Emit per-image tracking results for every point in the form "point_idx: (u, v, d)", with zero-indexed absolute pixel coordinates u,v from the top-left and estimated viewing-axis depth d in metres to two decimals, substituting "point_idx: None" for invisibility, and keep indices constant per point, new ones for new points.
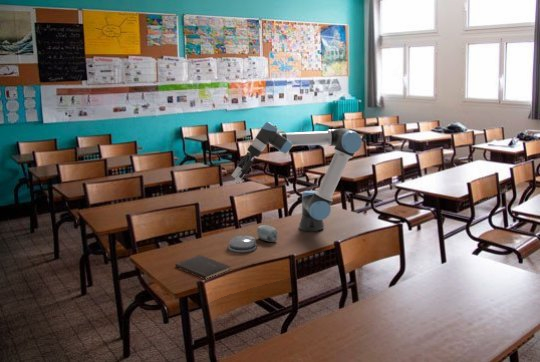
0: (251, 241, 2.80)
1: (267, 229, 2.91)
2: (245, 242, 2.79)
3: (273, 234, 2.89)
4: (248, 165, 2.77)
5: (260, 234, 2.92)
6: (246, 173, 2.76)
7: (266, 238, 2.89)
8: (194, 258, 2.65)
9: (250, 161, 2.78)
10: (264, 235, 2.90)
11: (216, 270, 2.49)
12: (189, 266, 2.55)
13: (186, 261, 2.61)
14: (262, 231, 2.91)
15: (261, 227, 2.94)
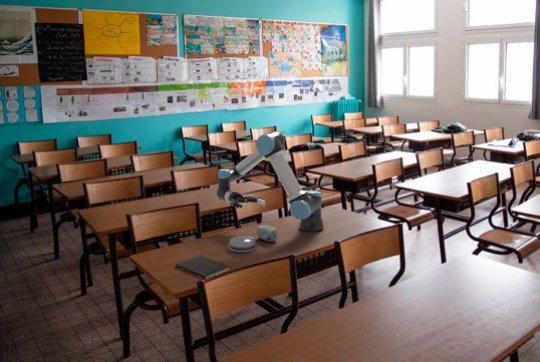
0: (251, 241, 2.80)
1: (267, 229, 2.91)
2: (245, 242, 2.79)
3: (273, 234, 2.89)
4: (231, 203, 3.02)
5: (260, 234, 2.92)
6: (233, 203, 2.98)
7: (266, 238, 2.89)
8: (194, 258, 2.65)
9: (231, 202, 3.05)
10: (264, 235, 2.90)
11: (216, 270, 2.49)
12: (189, 266, 2.55)
13: (186, 261, 2.61)
14: (262, 231, 2.91)
15: (261, 227, 2.94)
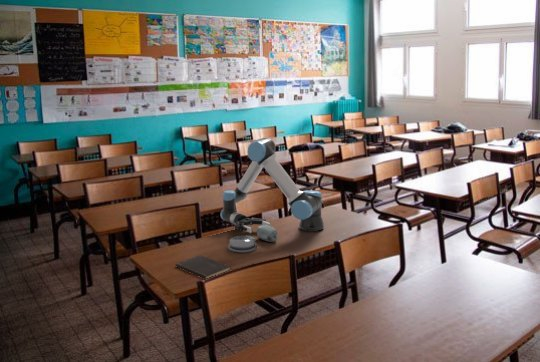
0: (251, 241, 2.80)
1: (267, 229, 2.91)
2: (245, 242, 2.79)
3: (273, 234, 2.89)
4: (236, 226, 3.01)
5: (260, 234, 2.92)
6: (238, 226, 2.97)
7: (266, 238, 2.89)
8: (195, 258, 2.65)
9: (236, 225, 3.04)
10: (264, 235, 2.90)
11: (216, 270, 2.49)
12: (189, 266, 2.55)
13: (186, 261, 2.61)
14: (262, 231, 2.91)
15: (261, 227, 2.94)
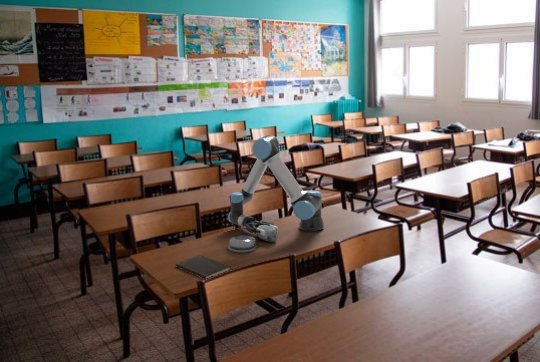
0: (251, 241, 2.80)
1: (267, 229, 2.90)
2: (245, 242, 2.79)
3: (273, 234, 2.89)
4: (248, 228, 2.95)
5: (260, 234, 2.92)
6: (252, 229, 2.92)
7: (266, 238, 2.89)
8: (195, 258, 2.65)
9: (246, 228, 2.98)
10: None
11: (216, 270, 2.49)
12: (189, 265, 2.55)
13: (186, 261, 2.61)
14: None
15: (261, 227, 2.94)
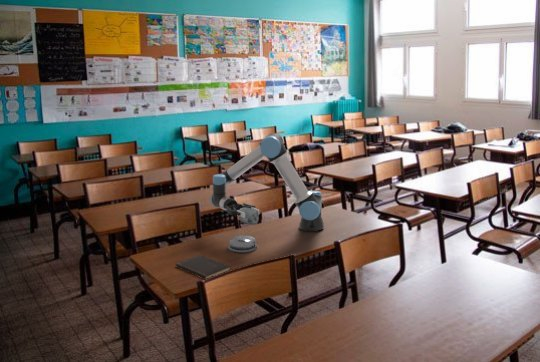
0: (251, 241, 2.80)
1: (248, 211, 2.81)
2: (245, 242, 2.79)
3: (254, 217, 2.79)
4: (228, 211, 2.86)
5: None
6: (232, 211, 2.82)
7: (246, 220, 2.79)
8: (195, 258, 2.65)
9: (227, 210, 2.88)
10: None
11: (216, 270, 2.49)
12: (190, 265, 2.55)
13: (186, 261, 2.61)
14: None
15: (242, 209, 2.84)
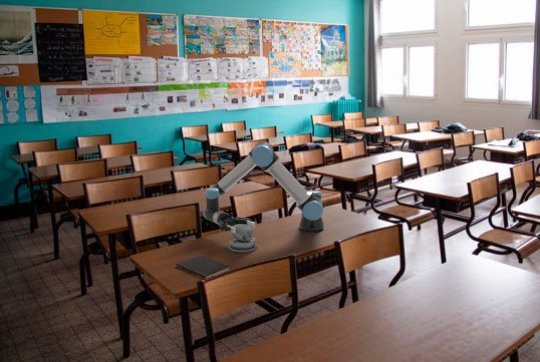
0: (251, 241, 2.80)
1: (242, 228, 2.78)
2: (245, 242, 2.79)
3: (249, 234, 2.76)
4: (220, 225, 2.82)
5: (235, 233, 2.79)
6: (222, 226, 2.78)
7: (241, 238, 2.77)
8: (195, 258, 2.65)
9: (219, 224, 2.85)
10: (239, 235, 2.77)
11: (216, 270, 2.49)
12: (190, 265, 2.55)
13: (186, 261, 2.61)
14: (237, 230, 2.79)
15: (236, 226, 2.81)
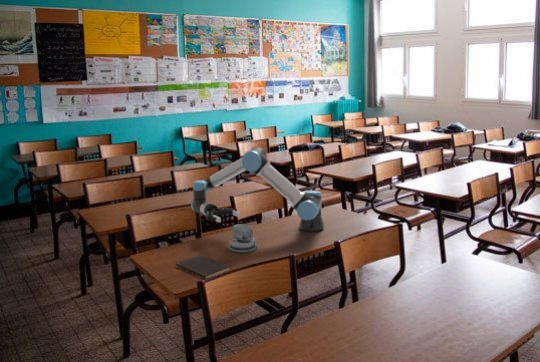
0: (251, 241, 2.80)
1: (242, 228, 2.78)
2: (245, 242, 2.79)
3: (249, 234, 2.76)
4: (206, 216, 2.93)
5: (235, 233, 2.79)
6: (207, 216, 2.89)
7: (241, 238, 2.77)
8: (195, 258, 2.65)
9: (205, 215, 2.96)
10: (239, 235, 2.77)
11: (216, 270, 2.49)
12: (190, 265, 2.55)
13: (187, 261, 2.61)
14: (237, 230, 2.79)
15: (236, 226, 2.81)
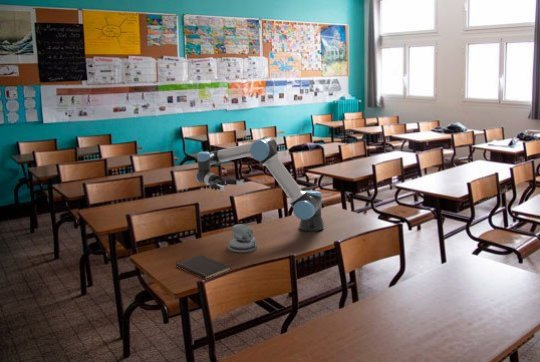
0: (251, 241, 2.80)
1: (242, 228, 2.78)
2: (245, 242, 2.79)
3: (249, 234, 2.76)
4: (210, 185, 2.97)
5: (235, 233, 2.79)
6: (212, 185, 2.93)
7: (241, 238, 2.77)
8: (195, 258, 2.65)
9: (210, 184, 2.99)
10: (239, 235, 2.77)
11: (216, 270, 2.49)
12: (190, 265, 2.55)
13: (187, 261, 2.61)
14: (237, 230, 2.79)
15: (236, 226, 2.81)
